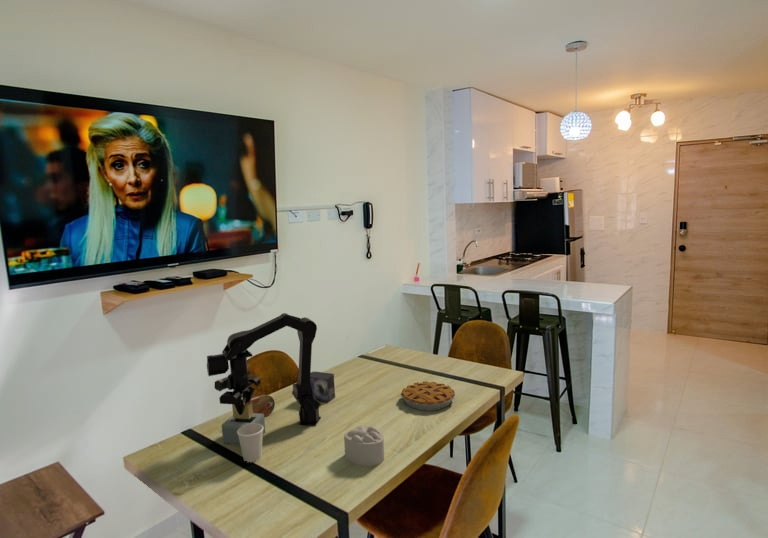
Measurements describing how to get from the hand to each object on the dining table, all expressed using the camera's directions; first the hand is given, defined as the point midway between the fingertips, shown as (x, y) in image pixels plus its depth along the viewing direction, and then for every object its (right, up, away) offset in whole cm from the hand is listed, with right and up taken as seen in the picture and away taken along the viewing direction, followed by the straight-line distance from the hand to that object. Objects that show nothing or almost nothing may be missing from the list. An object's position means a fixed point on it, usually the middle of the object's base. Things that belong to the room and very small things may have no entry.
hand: (242, 412), depth 167 cm
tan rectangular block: (0, -2, 0) cm, 2 cm away
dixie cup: (+7, -11, -12) cm, 18 cm away
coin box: (0, -9, +1) cm, 10 cm away
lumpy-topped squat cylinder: (+44, -10, -14) cm, 47 cm away
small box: (+23, -4, +33) cm, 40 cm away
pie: (+68, -4, +27) cm, 73 cm away
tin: (+1, -8, +17) cm, 18 cm away
